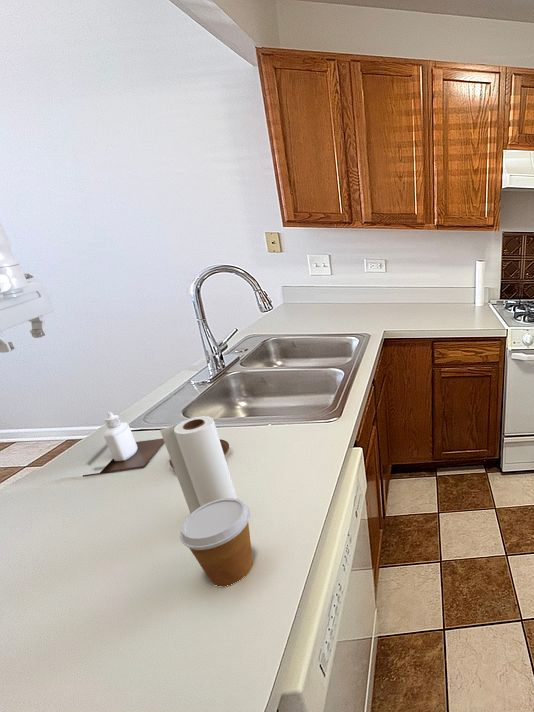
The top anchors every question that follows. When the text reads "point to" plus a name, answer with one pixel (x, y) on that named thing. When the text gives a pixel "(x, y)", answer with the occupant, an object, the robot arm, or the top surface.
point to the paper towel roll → (198, 461)
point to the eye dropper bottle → (119, 438)
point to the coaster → (134, 457)
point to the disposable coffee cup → (220, 540)
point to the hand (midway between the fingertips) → (24, 343)
